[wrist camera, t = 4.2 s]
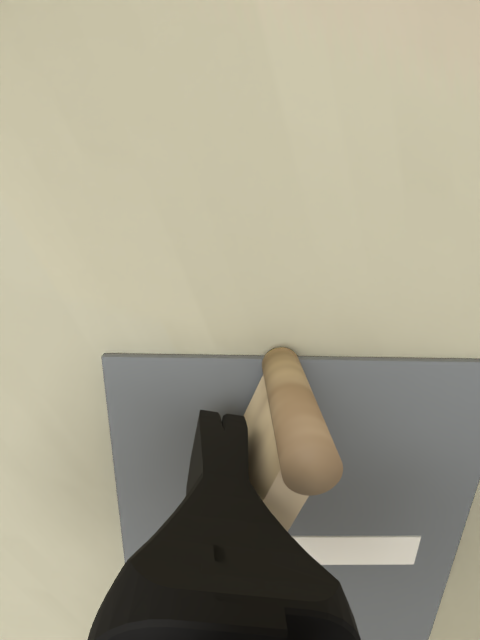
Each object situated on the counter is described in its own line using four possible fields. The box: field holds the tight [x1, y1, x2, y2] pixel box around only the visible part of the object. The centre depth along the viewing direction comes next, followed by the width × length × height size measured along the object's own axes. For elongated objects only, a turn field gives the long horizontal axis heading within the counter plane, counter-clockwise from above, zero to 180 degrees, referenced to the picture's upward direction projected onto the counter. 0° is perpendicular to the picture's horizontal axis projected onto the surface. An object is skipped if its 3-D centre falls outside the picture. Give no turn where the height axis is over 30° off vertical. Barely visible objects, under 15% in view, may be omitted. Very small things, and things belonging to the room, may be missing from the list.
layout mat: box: [102, 353, 480, 640], centre depth 16 cm, size 16×19×1 cm
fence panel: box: [244, 347, 343, 532], centre depth 12 cm, size 10×1×5 cm, turn 158°
